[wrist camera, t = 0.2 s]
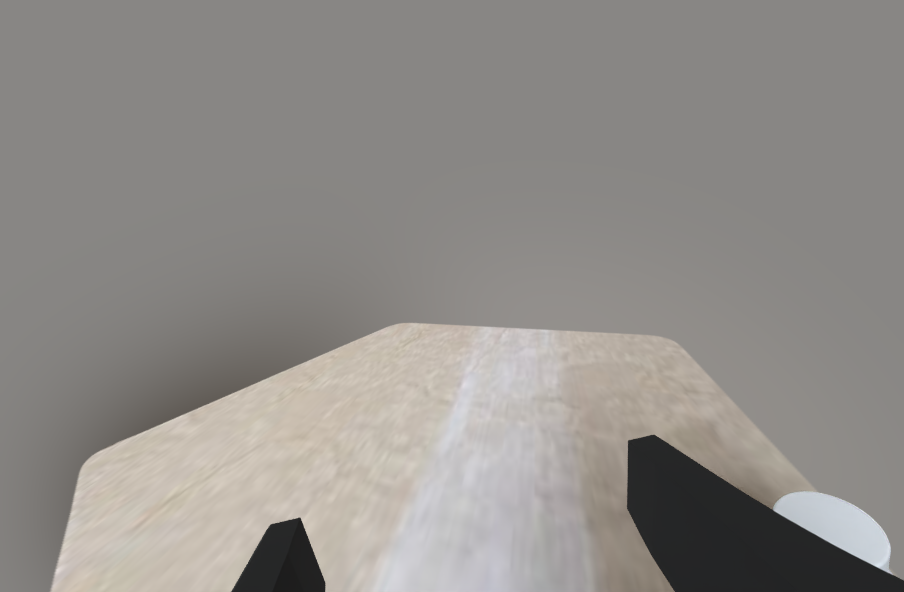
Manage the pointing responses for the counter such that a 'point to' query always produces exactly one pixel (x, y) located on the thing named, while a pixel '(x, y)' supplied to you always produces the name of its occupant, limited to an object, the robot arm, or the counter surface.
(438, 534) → the counter surface
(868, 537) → the supplement bottle
